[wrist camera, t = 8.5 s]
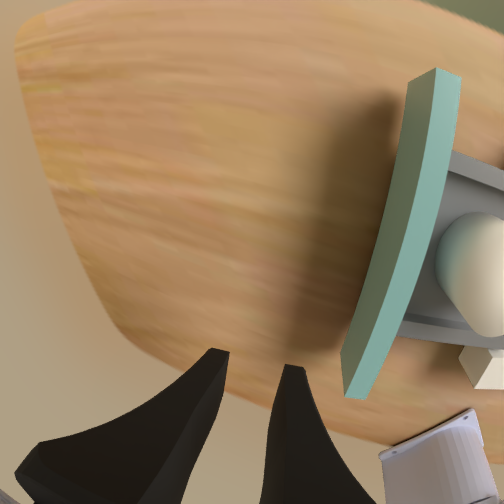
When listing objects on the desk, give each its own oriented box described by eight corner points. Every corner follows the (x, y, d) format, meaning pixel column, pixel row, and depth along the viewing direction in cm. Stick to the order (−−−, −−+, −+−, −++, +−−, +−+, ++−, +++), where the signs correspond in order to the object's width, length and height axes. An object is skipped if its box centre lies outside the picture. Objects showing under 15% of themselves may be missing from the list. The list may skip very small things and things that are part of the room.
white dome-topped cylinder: (451, 315, 16) (477, 354, 12) (420, 243, 15) (449, 273, 11) (516, 269, 14) (552, 298, 11) (492, 193, 13) (534, 210, 10)
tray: (554, 150, 12) (595, 157, 8) (478, 368, 18) (498, 405, 14) (407, 82, 13) (436, 67, 10) (340, 351, 19) (344, 397, 15)
